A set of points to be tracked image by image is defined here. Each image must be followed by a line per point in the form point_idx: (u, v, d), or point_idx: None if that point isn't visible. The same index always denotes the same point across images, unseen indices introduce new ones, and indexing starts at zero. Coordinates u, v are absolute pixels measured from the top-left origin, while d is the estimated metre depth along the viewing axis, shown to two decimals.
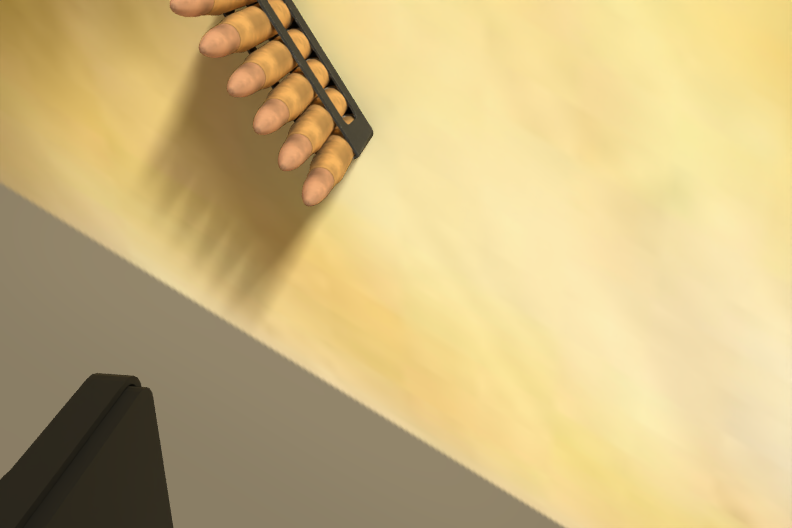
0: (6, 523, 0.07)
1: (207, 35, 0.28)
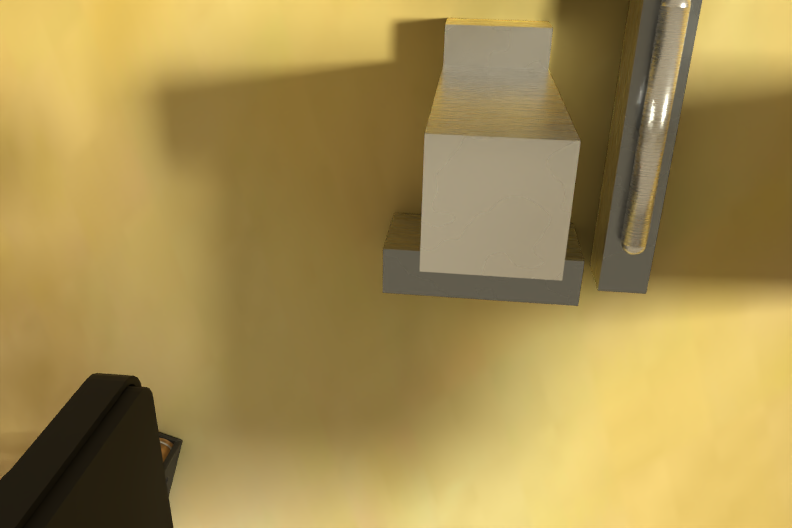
0: (7, 523, 0.07)
1: None
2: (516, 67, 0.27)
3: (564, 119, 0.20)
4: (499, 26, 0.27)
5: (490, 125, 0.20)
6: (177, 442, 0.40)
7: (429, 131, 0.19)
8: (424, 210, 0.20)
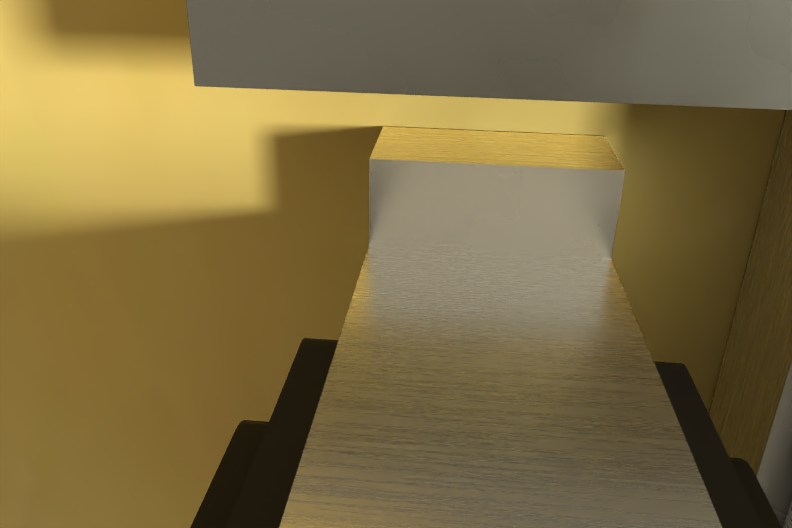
0: (289, 460, 0.08)
1: None
2: (536, 253, 0.12)
3: None
4: (497, 164, 0.11)
5: None
6: None
7: None
8: None
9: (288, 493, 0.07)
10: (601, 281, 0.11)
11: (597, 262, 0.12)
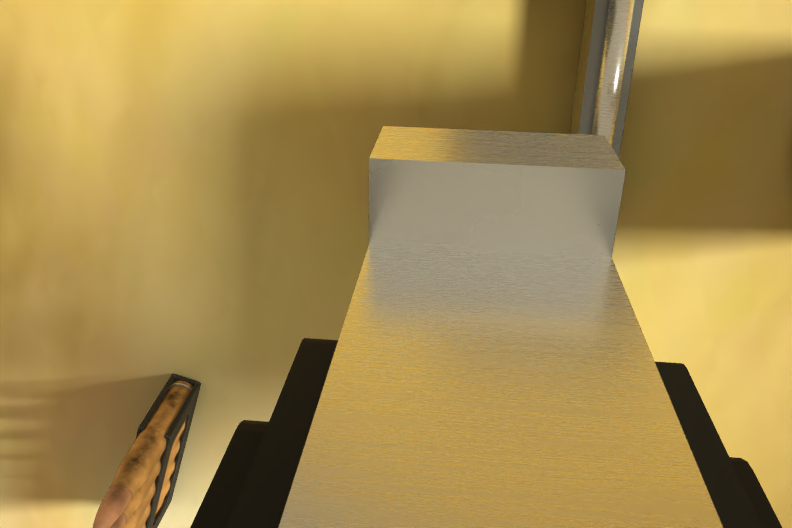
0: (289, 461, 0.08)
1: None
2: (537, 252, 0.12)
3: None
4: (497, 164, 0.11)
5: None
6: (196, 384, 0.44)
7: None
8: None
9: (288, 493, 0.07)
10: (601, 280, 0.11)
11: (597, 261, 0.12)
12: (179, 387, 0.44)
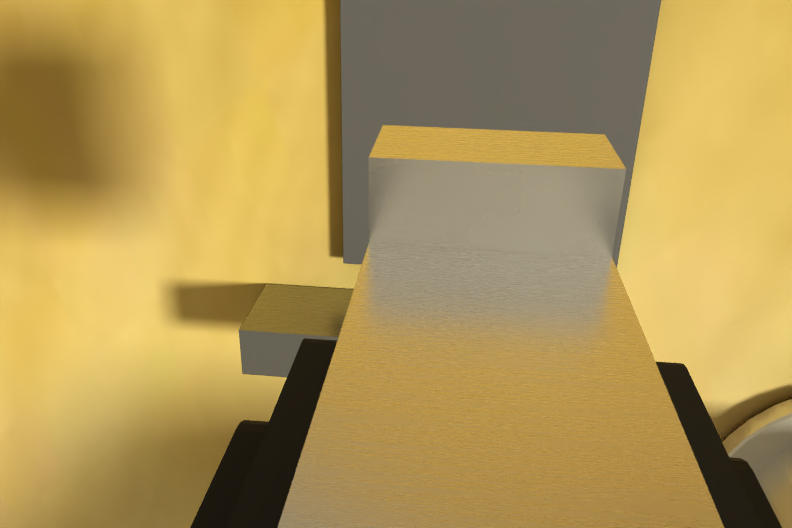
0: (289, 461, 0.08)
1: None
2: (537, 252, 0.12)
3: None
4: (497, 163, 0.11)
5: None
6: None
7: None
8: None
9: None
10: (602, 280, 0.11)
11: (598, 261, 0.12)
12: None
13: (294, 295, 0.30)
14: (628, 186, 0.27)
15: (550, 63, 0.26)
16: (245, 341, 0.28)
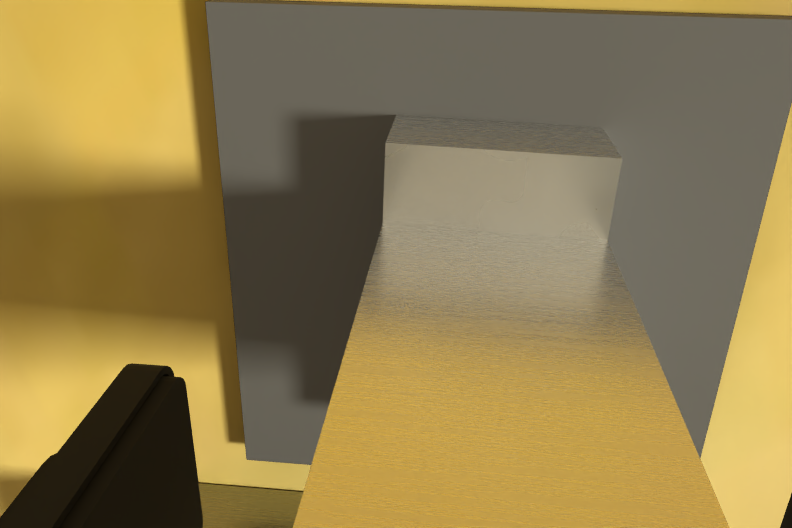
0: (55, 505, 0.07)
1: None
2: (538, 234, 0.13)
3: None
4: (504, 150, 0.12)
5: None
6: None
7: None
8: None
9: None
10: (598, 260, 0.12)
11: (594, 243, 0.13)
12: None
13: None
14: (722, 357, 0.16)
15: None
16: None
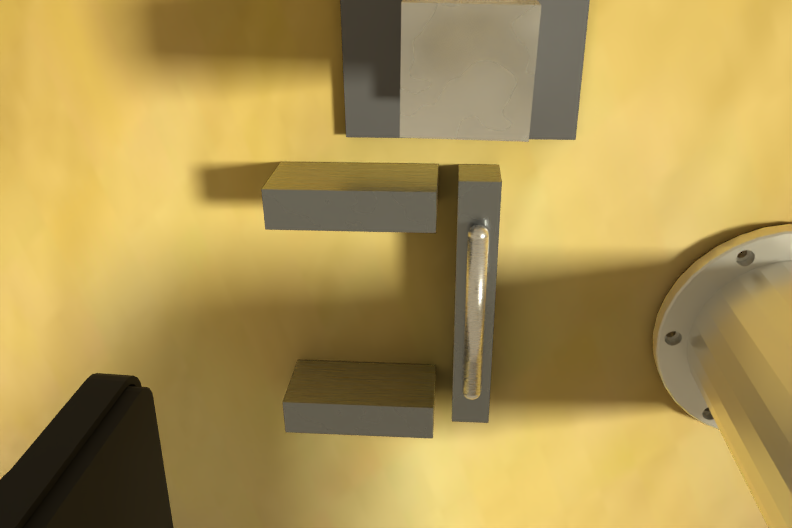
0: (6, 523, 0.07)
1: None
2: None
3: None
4: None
5: None
6: None
7: (405, 1, 0.21)
8: (402, 77, 0.22)
9: None
10: None
11: None
12: None
13: (305, 167, 0.36)
14: (582, 54, 0.33)
15: None
16: (267, 199, 0.33)
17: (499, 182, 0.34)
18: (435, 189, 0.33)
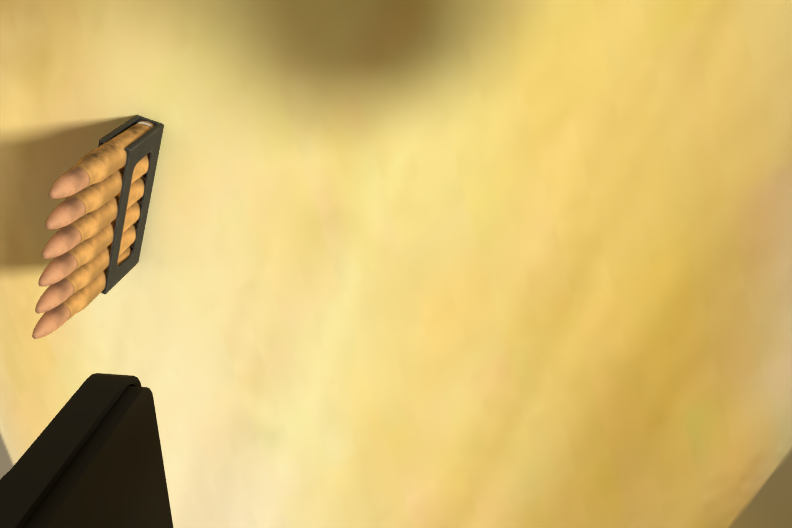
0: (6, 523, 0.07)
1: (59, 215, 0.37)
2: None
3: None
4: None
5: None
6: (159, 124, 0.46)
7: None
8: None
9: None
10: None
11: None
12: (142, 125, 0.46)
13: None
14: None
15: None
16: None
17: None
18: None
